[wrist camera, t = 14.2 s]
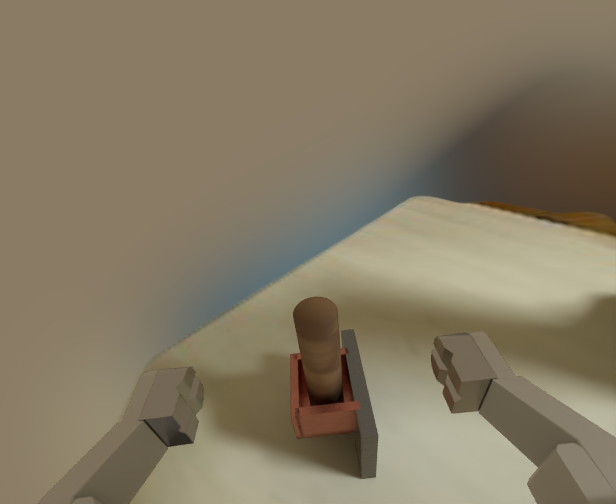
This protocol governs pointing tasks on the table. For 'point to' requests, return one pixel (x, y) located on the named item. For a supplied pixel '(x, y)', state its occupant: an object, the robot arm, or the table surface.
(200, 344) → the table surface
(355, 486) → the table surface
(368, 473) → the drawer
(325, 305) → the brown cylinder
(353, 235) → the table surface
